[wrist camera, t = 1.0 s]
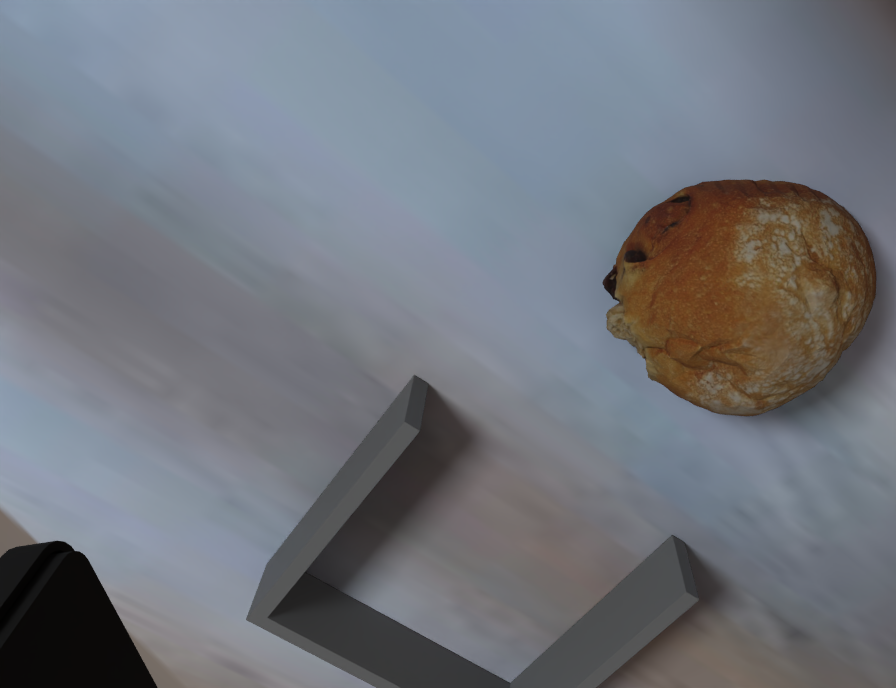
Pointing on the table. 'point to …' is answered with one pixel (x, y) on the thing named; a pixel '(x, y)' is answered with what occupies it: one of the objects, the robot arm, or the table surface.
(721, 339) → the bread roll
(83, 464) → the table surface
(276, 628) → the bin
